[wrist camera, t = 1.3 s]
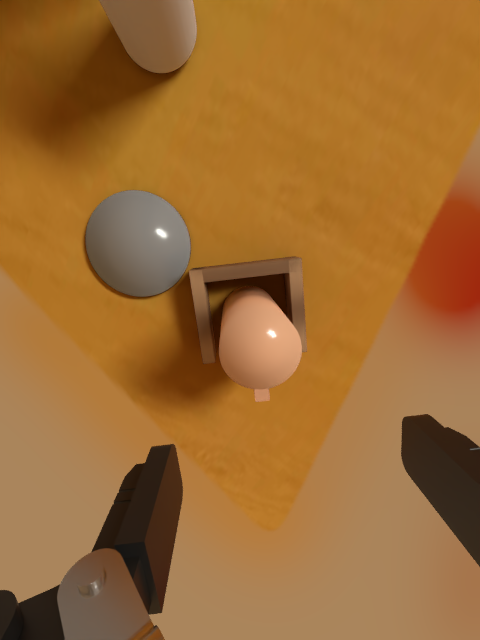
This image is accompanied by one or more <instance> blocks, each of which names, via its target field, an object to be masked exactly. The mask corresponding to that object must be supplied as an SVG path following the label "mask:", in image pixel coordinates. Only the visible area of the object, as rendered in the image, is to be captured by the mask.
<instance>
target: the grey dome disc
mask: <svg viewBox="0 0 480 640" xmlns="http://www.w3.org/2000/svg"><path fill="white" fill-rule="evenodd" d="M86 249H87V254H88V257H89V260H90V262H91V264H92V266H93V268H94V269H95V271H96V272H97V274H98V275H99V276H100V277H101V278H102V280H103V281H104V282H106V283H107V284H108V285H109V286H111V287H112V288H114V289H115V290H117V291H119V292H122V293H124V294H127V295H132V296H139V297H145V296H152V295H156V294H159V293H162V292H164V291H166V290H168V289H169V288H171V287H172V286H173V285H174V284H175V283H177V282H178V280H179V279H180V278H181V277H182V275H183V274H184V272H185V270H186V268H187V266H188V263H189V260H190V254H191V241H190V236H189V232H188V229H187V226H186V224H185V222H184V220H183V219H182V217H181V215H180V214H179V213H178V212H177V210H176V209H175V208H174V207H173V206H172V205H170V204H169V203H168V202H167V201H165V200H164V199H162V198H160V197H158V196H157V195H154V194H152V193H149V192H144V191H137V190H129V191H123V192H119V193H116V194H114V195H112V196H110V197H108V198H106V199H105V200H104V201H102V202H101V203H100V204H99V205H98V206H97V208H96V209H95V210H94V212H93V213H92V215H91V217H90V219H89V222H88V225H87V229H86Z"/></svg>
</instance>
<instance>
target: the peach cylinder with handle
mask: <svg viewBox="0 0 480 640" xmlns="http://www.w3.org/2000/svg"><path fill="white" fill-rule="evenodd" d="M301 353H302V345H301V339H300V336H299V334H298V332H297V330H296V328H295V327H294V326H293V324H292V323H291V322H290V321H289V319H288V318H287V317H286V315H285V314H284V313H283V312H282V310H281V309H280V308H279V307H278V305H277V304H276V303H275V301H274V300H273V299H272V298H271V296H270V295H269V294H268V293H267V292H266V291H264V290H263V289H261V288H259V287H256V286H243V287H240V288H237V289H236V290H234V291H233V292H231V293H230V294H229V295H228V297H227V298H226V300H225V302H224V305H223V311H222V322H221V332H220V343H219V358H220V362H221V365H222V367H223V369H224V371H225V372H226V374H227V375H228V376H229V377H230V378H231V379H232V380H233V381H234V382H236V383H238V384H239V385H241V386H244V387H247V388H251V389H254V395H255V401H256V402H259V401H267V400H270V396H269V388H272V387H275V386H277V385H279V384H281V383H283V382H284V381H286V380H287V379H288V378H289V377H290V376H291V375H292V374H293V373H294V371H295V370H296V368H297V367H298V364H299V362H300V359H301Z"/></svg>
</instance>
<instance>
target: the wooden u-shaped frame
mask: <svg viewBox="0 0 480 640" xmlns="http://www.w3.org/2000/svg"><path fill="white" fill-rule="evenodd" d="M281 273H284V280H285V294H286V307H287V318H288V319H289V321H290V322H291V323H292V324H293V326H294V327H295V328H296V330H297V332H298V334H299V336H300V339H301V345H302V352H307V342H306V326H305V309H304V293H303V276H302V260H301V258H299V257H286V258H278V259H269V260H261V261H252V262H244V263H235V264H226V265H218V266H209V267H201V268H193V269H191V270H190V271H189V275H190V282H191V288H192V295H193V301H194V308H195V314H196V321H197V327H198V334H199V340H200V347H201V353H202V360H203V364H208V363H215V360H216V346H215V339H214V332H213V325H212V318H211V310H210V303H209V296H208V289H207V282H213V281H222V280H230V279H239V278H247V277H256V276H264V275H273V274H281Z"/></svg>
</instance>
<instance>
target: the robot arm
mask: <svg viewBox="0 0 480 640" xmlns="http://www.w3.org/2000/svg"><path fill="white" fill-rule="evenodd" d="M401 449H402V450H401V451H402V452H401V456H402V461H403V465H404V467H405V470H406V472H407V473H408V475H409V476H410V477H411V479H412V480H413V481H414V483H415V484H416V485H417V486H418V487H419V489H420V490H421V492H422V493H423V494H424V495H425V497H426V498H427V499H428V500H429V502H430V503H431V504H432V505H433V507H434V508H435V510H436V511H437V512H438V513H439V515H440V516H441V517H442V518H443V520H444V521H445V522H446V524H447V525H448V526H449V528H450V529H451V530H452V532H453V533H454V534H455V535H456V537H457V538H458V539H459V541H460V542H461V543H462V544H463V546H464V547H465V548H466V549H467V551H468V552H469V553H470V555H471V556H472V557H473V559H474V560H475V561H476V562H477V564H478V565H479V566H480V447H479V446H477V445H476V444H475V443H474V442H473V441H471V440H470V439H469V438H467V436H464V435H463V434H461V433H459V432H457V431H455V430H453V429H451V428H449V427H447V428H444V427H443V426H442V425H441V424H439V423H438V422H437V421H436V420H435V419H434V418H433V417H431V416H430V415H428V414H424V415H417V416H407V417H404V418H403V421H402V448H401ZM182 496H183V486H182V478H181V474H180V468H179V463H178V457H177V452H176V448H175V445H174V444H170V445H162V446H154V447H151V449H150V452H149V454H148V457H147V460H146V462H145V463H143V464H136V465H135V466H134V467H133V468H132V470H131V471H130V472H129V473H128V474H127V475H126V476H125V478H124V480H123V482H122V485H121V487H120V489H119V493H118V494H117V496H116V498H115V500H114V505H112V507H111V509H110V512H109V514H108V516H107V518H106V521H105V523H104V525H103V527H102V530H101V532H100V534H99V536H98V539H97V541H96V543H95V545H94V548H93V550H92V552H91V553H89V554H88V555H86V556H84V557H83V558H81V559H80V560H79V561H78V562H77V563H75V565H73V566H72V567H71V569H70V570H69V571H68V572H67V574H66V575H65V577H64V578H63V580H62V582H61V584H60V585H58V586H56V587H54V588H52V589H50V590H48V591H45V592H43V593H41V594H39V595H36V596H34V597H32V598H29V599H27V600H25V601H23V602H20V603H18V602H17V600H16V597H15V595H14V594H13V593H12V592H10V591H7V590H0V640H165V639H164V637H163V635H162V633H161V631H160V630H159V628H158V627H157V626H154V625H153V623H152V622H151V619H150V617H149V614H157V613H162V609H163V604H164V598H165V592H166V587H167V581H168V576H169V570H170V565H171V559H172V554H173V548H174V543H175V537H176V532H177V526H178V520H179V515H180V509H181V504H182Z"/></svg>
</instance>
